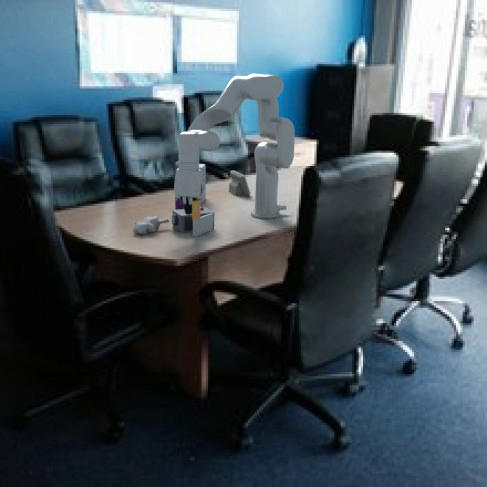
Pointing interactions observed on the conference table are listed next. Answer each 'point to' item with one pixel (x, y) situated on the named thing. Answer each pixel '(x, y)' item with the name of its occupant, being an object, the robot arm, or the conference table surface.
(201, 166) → the supplement box
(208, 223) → the door
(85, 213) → the conference table surface
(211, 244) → the conference table surface
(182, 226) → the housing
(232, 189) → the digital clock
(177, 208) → the beverage can
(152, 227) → the bunny figurine
